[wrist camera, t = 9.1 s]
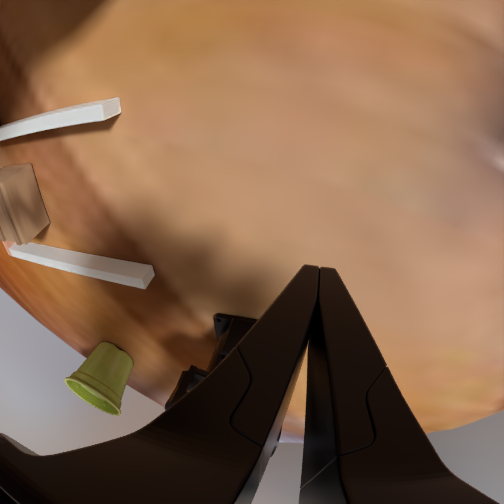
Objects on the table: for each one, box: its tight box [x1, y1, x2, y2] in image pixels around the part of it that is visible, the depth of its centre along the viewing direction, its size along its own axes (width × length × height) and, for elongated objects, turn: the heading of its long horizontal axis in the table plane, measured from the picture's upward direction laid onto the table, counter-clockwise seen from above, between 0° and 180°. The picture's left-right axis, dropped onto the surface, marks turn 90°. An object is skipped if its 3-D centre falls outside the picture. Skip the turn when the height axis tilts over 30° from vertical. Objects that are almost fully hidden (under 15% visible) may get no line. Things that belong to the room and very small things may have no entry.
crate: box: [0, 163, 50, 246], centre depth 24 cm, size 7×6×4 cm
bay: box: [0, 97, 155, 289], centre depth 24 cm, size 16×23×2 cm
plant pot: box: [64, 342, 133, 416], centre depth 38 cm, size 9×9×9 cm
